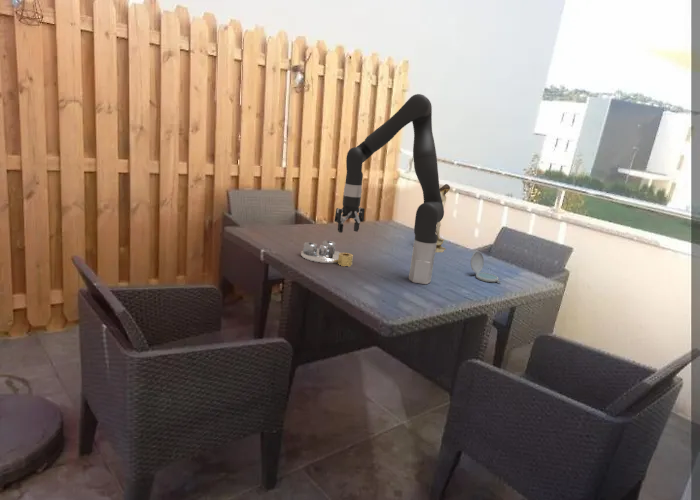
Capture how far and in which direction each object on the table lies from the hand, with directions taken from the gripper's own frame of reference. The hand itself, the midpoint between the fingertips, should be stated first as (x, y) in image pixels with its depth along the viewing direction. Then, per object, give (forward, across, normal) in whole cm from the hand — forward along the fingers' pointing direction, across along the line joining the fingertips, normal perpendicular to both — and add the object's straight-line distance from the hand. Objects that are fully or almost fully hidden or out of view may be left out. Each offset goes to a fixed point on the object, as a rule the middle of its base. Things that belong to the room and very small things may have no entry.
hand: (348, 231), depth 205 cm
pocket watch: (+15, -50, +39) cm, 66 cm away
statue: (+15, -66, -9) cm, 68 cm away
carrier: (+15, +3, -12) cm, 20 cm away
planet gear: (+15, 0, 0) cm, 15 cm away
